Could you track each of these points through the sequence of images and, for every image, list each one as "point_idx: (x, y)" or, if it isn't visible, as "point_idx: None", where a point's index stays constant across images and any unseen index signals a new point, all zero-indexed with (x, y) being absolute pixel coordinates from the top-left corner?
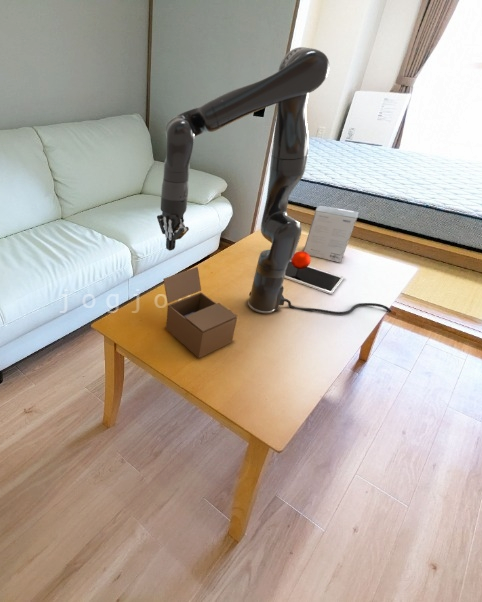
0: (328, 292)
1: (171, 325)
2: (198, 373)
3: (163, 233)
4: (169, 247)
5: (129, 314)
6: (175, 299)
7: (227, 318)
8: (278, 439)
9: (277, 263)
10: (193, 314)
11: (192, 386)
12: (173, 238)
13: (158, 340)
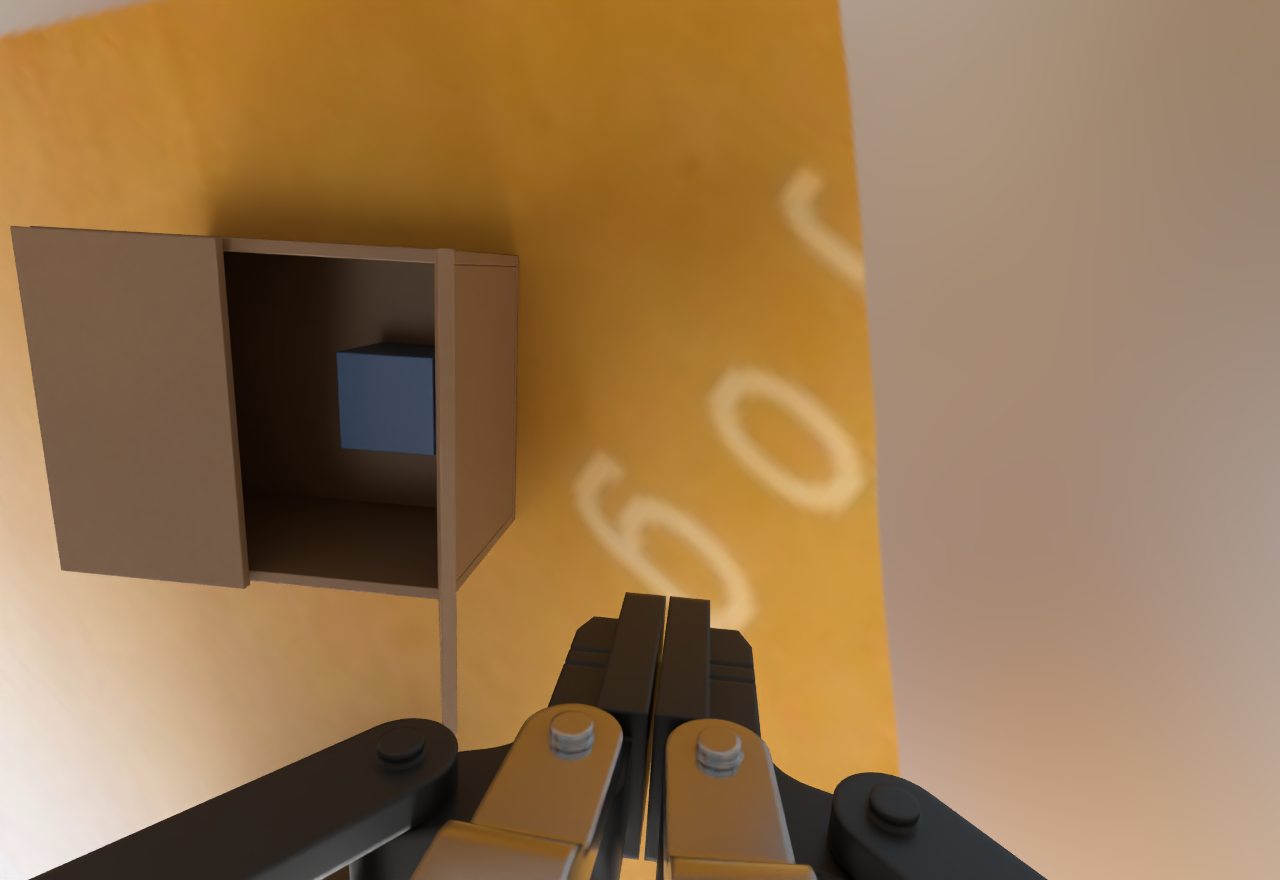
0: None
1: None
2: (113, 148)
3: (860, 786)
4: (617, 621)
5: (799, 138)
6: (435, 335)
7: (62, 490)
8: None
9: None
10: (206, 317)
11: (48, 44)
12: (388, 747)
13: (452, 135)
